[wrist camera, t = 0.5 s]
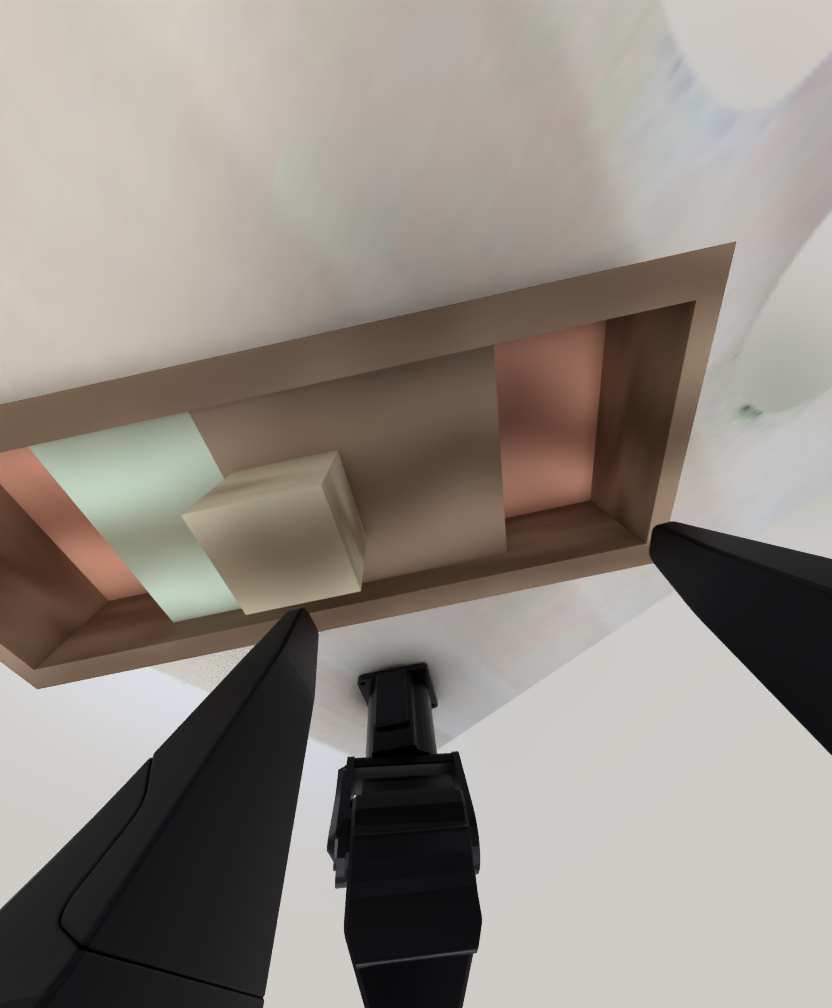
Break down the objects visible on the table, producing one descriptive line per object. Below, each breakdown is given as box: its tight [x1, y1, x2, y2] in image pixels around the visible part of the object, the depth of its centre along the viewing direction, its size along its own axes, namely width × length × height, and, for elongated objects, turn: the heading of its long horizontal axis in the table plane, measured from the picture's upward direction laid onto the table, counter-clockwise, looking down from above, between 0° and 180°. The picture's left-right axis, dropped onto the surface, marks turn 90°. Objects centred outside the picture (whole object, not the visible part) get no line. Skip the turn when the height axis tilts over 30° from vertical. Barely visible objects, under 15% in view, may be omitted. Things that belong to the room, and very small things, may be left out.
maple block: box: [181, 450, 367, 615], centre depth 13 cm, size 5×5×4 cm
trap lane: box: [0, 242, 736, 689], centre depth 16 cm, size 14×36×6 cm, turn 101°
